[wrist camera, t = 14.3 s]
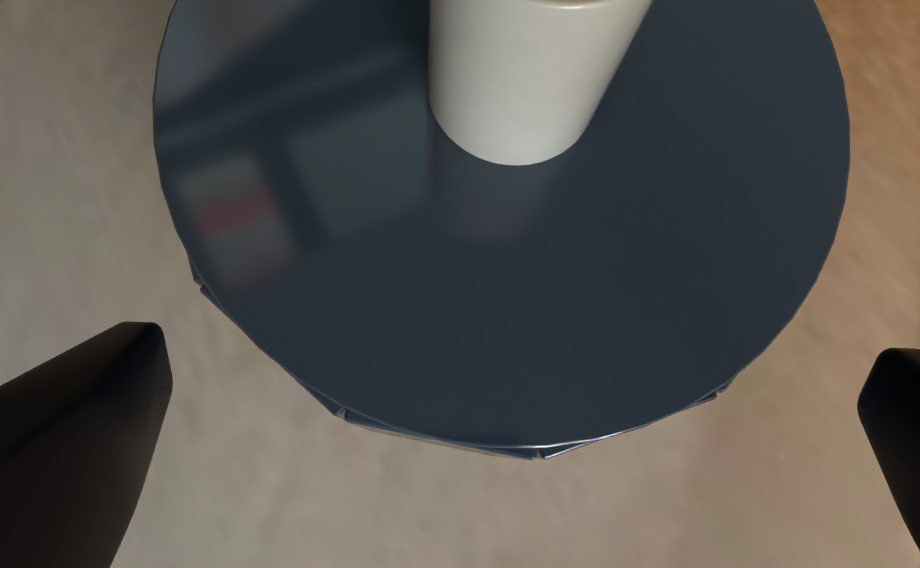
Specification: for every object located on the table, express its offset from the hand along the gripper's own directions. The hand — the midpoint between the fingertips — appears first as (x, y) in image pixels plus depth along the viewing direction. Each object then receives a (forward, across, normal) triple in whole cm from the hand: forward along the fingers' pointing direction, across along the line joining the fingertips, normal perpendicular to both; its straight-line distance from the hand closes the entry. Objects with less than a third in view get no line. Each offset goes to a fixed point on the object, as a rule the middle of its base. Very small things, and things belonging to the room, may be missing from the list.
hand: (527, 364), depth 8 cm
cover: (+9, 0, +2) cm, 9 cm away
